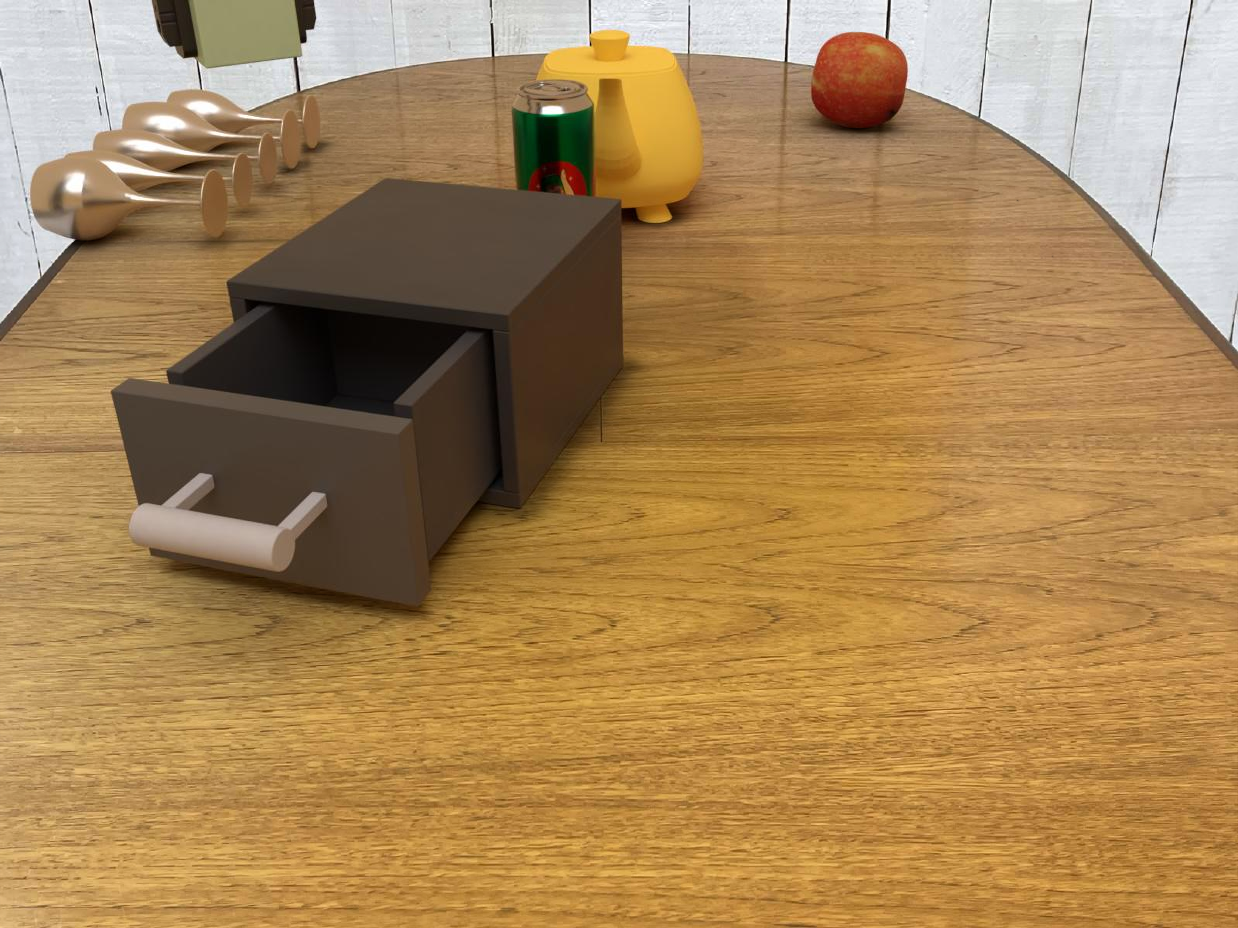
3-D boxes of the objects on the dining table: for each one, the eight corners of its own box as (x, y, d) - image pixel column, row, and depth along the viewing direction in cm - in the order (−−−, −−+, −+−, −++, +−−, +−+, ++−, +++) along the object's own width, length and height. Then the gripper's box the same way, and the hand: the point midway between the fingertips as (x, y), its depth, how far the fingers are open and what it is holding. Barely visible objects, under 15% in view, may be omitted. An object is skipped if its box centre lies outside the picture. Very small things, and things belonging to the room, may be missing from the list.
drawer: (367, 675, 46) (340, 493, 42) (83, 616, 49) (33, 442, 45) (548, 436, 61) (541, 286, 57) (322, 403, 65) (301, 259, 61)
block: (205, 69, 58) (186, -37, 56) (185, 51, 62) (166, -49, 60) (303, 56, 60) (288, -46, 58) (277, 40, 64) (262, -58, 61)
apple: (825, 110, 116) (832, 20, 112) (915, 120, 113) (925, 27, 109) (797, 132, 110) (803, 38, 106) (891, 143, 107) (900, 46, 103)
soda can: (548, 254, 85) (540, 73, 79) (612, 267, 83) (609, 82, 77) (505, 279, 81) (493, 91, 75) (570, 293, 79) (564, 101, 73)
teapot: (515, 258, 85) (505, 70, 78) (527, 168, 102) (519, 8, 96) (714, 254, 85) (719, 66, 78) (692, 165, 102) (695, 5, 96)
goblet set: (323, 148, 110) (176, 142, 111) (316, 81, 107) (166, 76, 108) (206, 257, 86) (19, 249, 87) (193, 174, 83) (0, 167, 84)
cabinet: (520, 509, 57) (508, 314, 52) (259, 466, 61) (225, 281, 56) (623, 365, 70) (621, 198, 65) (403, 337, 74) (385, 177, 69)
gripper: (312, -367, 58) (359, 19, 67) (-24, -369, 52) (75, 52, 61) (364, -380, 52) (408, 44, 61) (-7, -385, 47) (99, 84, 55)
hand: (241, 46), depth 61 cm, fingers closed on block, 4 cm apart
